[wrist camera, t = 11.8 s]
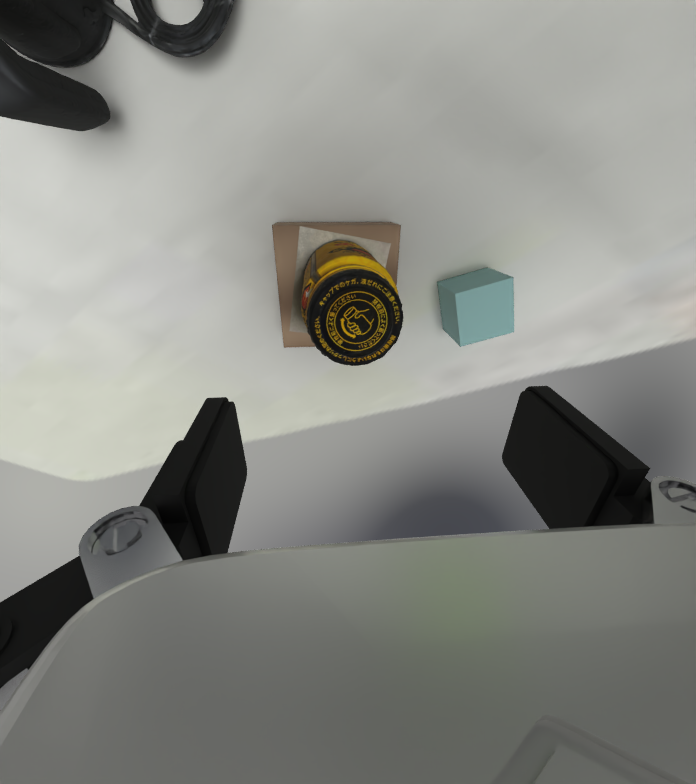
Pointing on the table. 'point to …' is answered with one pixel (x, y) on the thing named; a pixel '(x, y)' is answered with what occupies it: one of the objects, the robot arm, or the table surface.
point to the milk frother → (81, 53)
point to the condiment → (345, 296)
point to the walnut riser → (287, 256)
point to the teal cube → (477, 306)
